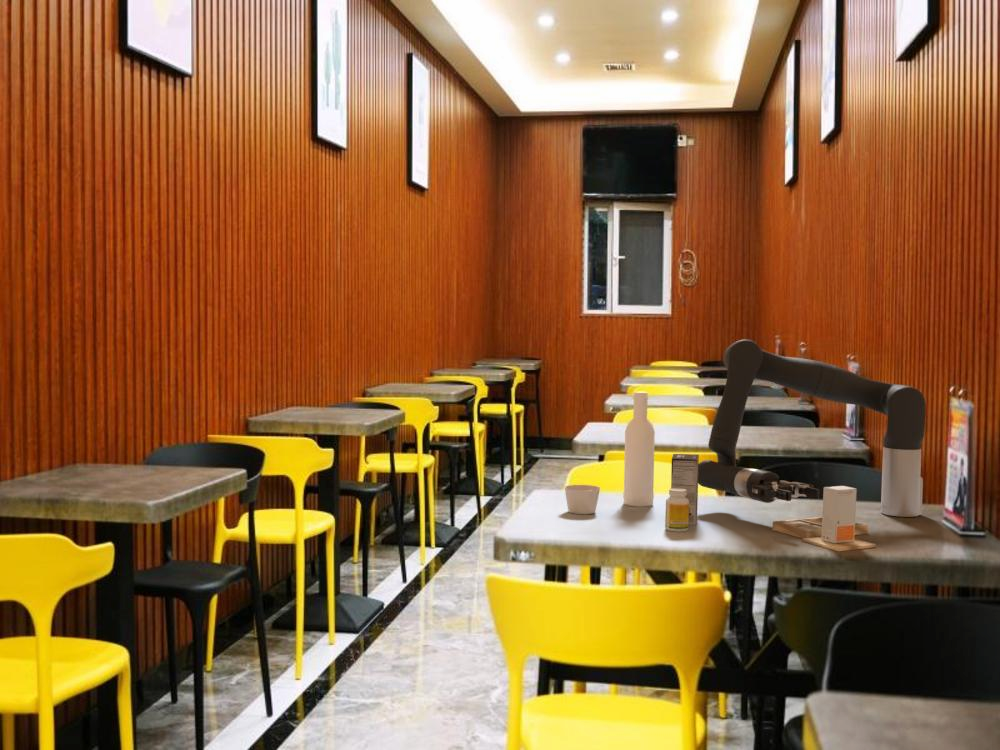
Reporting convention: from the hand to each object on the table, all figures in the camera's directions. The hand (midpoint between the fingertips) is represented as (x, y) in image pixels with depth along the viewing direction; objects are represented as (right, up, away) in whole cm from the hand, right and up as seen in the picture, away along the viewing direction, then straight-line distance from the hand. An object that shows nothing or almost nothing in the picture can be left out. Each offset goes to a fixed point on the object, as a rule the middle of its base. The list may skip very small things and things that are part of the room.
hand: (804, 495), depth 238 cm
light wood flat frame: (+5, -9, +4) cm, 11 cm away
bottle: (-33, -7, +37) cm, 51 cm away
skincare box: (+5, -9, -9) cm, 14 cm away
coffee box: (-25, -8, +15) cm, 30 cm away
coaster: (+5, -10, -9) cm, 14 cm away
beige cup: (-49, -7, +25) cm, 56 cm away
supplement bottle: (-29, -9, +4) cm, 30 cm away
